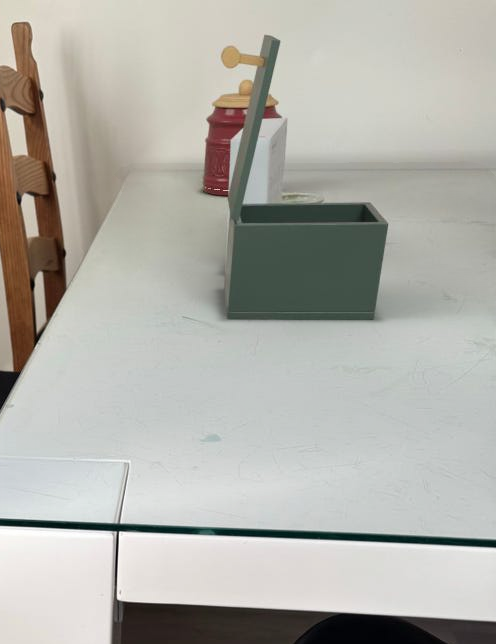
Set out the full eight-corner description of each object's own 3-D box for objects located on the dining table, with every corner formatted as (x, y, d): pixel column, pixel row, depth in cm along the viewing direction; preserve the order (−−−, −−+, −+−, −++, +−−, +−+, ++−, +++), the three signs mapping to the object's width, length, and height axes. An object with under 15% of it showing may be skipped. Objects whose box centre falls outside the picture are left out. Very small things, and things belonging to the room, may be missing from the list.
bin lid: (271, 35, 106) (225, 28, 107) (280, 40, 96) (229, 32, 96) (234, 200, 115) (191, 193, 116) (238, 220, 105) (191, 213, 105)
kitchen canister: (287, 193, 176) (299, 79, 167) (218, 199, 174) (226, 83, 165) (256, 183, 187) (265, 75, 178) (191, 188, 185) (197, 79, 175)
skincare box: (241, 241, 145) (251, 117, 136) (279, 242, 143) (292, 117, 134) (219, 274, 128) (230, 136, 119) (263, 276, 126) (276, 136, 118)
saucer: (269, 206, 167) (271, 191, 165) (328, 209, 163) (330, 193, 161) (253, 217, 159) (254, 200, 158) (314, 220, 156) (316, 203, 154)
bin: (357, 290, 119) (370, 202, 113) (373, 319, 108) (388, 223, 103) (223, 290, 121) (230, 203, 116) (227, 319, 110) (234, 224, 105)
